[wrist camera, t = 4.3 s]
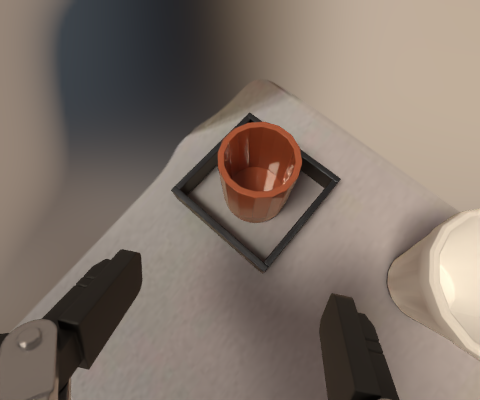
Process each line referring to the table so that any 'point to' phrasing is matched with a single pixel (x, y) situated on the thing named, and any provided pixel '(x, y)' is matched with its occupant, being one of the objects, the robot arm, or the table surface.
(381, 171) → the table surface
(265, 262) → the dark grey square frame
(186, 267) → the table surface
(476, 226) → the cup
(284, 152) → the terracotta cup
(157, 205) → the table surface
